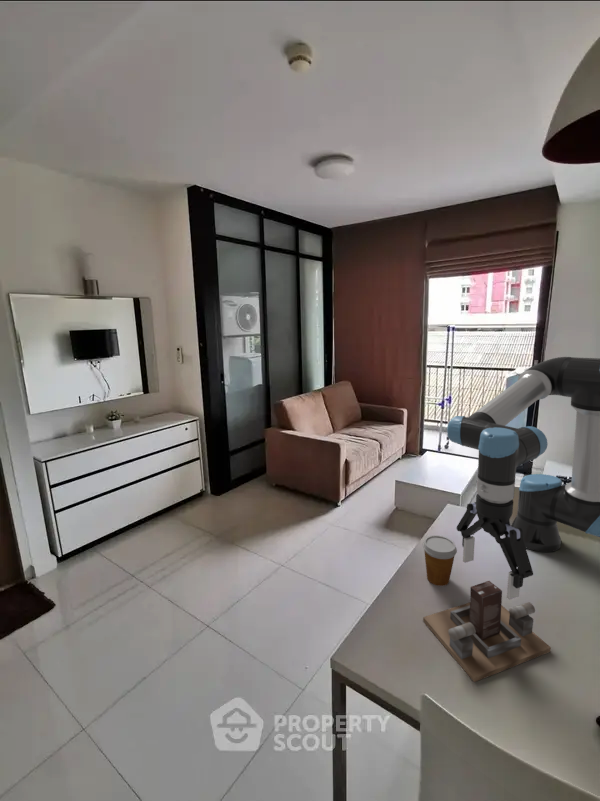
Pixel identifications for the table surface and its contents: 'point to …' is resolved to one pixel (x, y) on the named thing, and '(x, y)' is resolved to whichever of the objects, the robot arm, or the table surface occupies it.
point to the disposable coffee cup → (439, 559)
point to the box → (485, 609)
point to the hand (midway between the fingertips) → (488, 577)
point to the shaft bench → (488, 640)
